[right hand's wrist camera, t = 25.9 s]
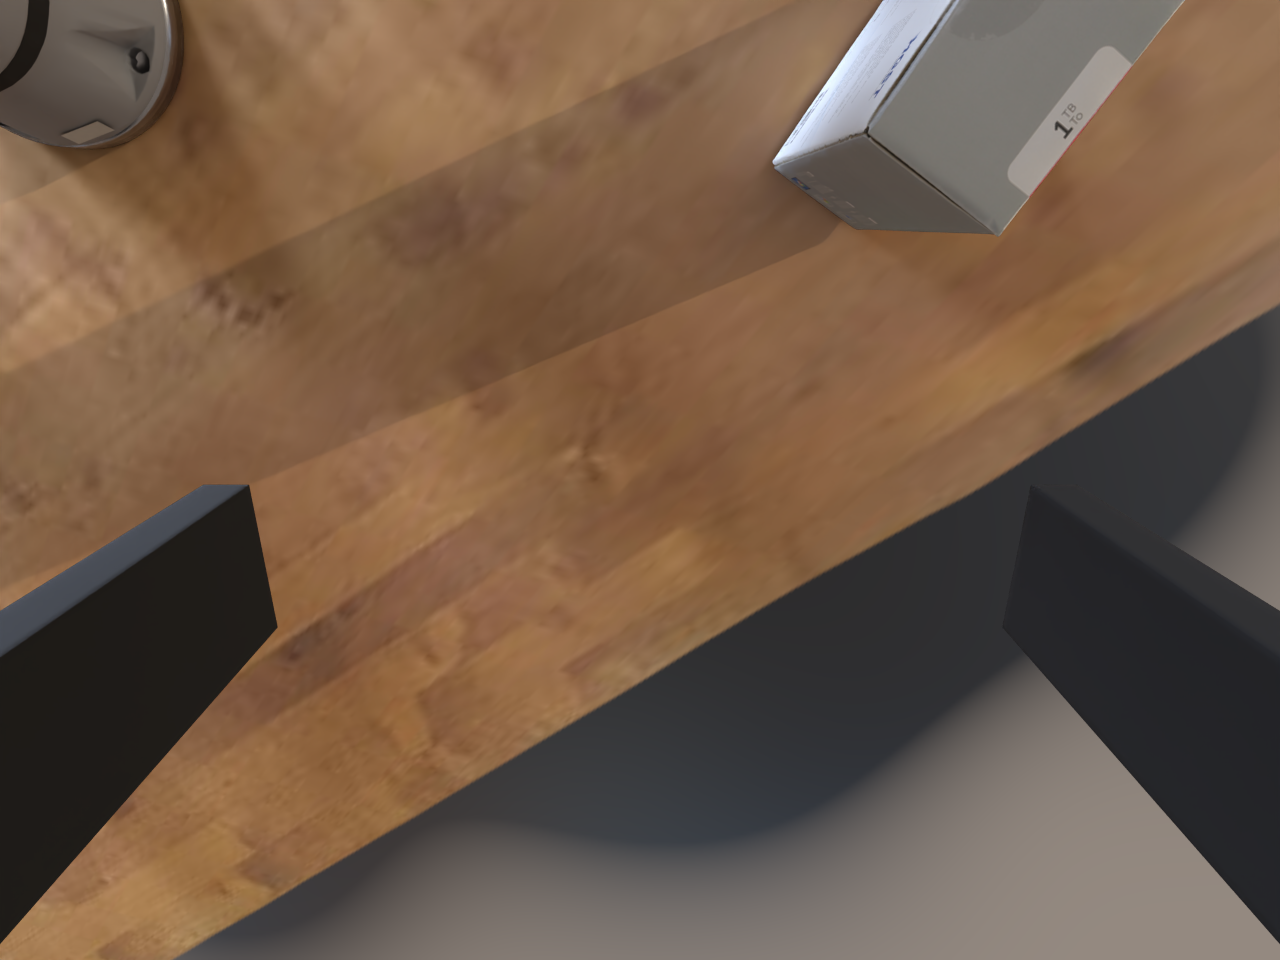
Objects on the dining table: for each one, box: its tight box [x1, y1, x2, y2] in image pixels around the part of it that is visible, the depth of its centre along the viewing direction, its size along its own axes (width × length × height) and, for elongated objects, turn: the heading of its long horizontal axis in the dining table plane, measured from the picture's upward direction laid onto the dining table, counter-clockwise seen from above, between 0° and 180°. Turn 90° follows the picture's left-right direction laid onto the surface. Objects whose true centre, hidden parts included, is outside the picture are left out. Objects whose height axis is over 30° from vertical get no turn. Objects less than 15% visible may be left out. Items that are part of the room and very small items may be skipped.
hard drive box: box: [773, 0, 1185, 236], centre depth 37 cm, size 16×8×20 cm, turn 146°
